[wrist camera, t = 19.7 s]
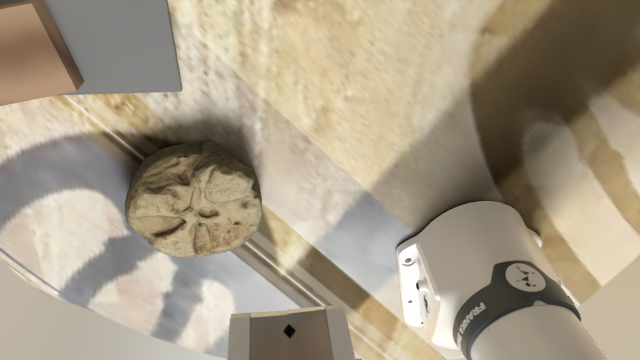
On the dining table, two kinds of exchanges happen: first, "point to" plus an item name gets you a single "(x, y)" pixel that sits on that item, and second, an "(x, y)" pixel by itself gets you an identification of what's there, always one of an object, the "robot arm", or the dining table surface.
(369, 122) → the dining table surface
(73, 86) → the walnut block
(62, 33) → the mat
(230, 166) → the stone
